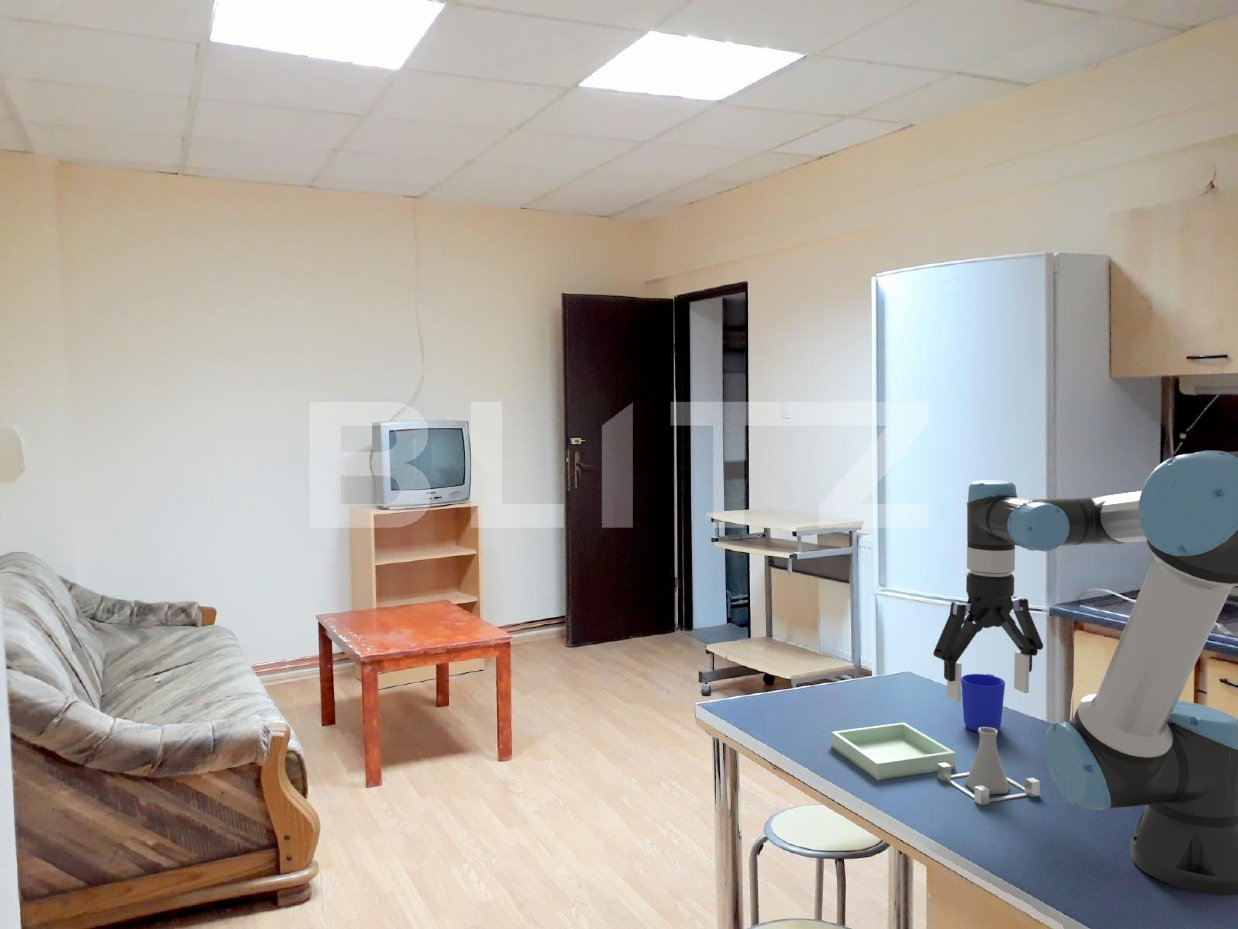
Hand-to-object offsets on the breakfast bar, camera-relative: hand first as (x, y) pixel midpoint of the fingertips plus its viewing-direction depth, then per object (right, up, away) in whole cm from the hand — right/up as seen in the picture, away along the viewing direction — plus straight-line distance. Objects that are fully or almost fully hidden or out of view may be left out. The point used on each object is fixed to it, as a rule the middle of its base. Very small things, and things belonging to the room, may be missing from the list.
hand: (988, 695), depth 156 cm
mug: (+11, -14, +30) cm, 35 cm away
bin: (-12, -15, +14) cm, 24 cm away
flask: (0, -16, +1) cm, 16 cm away
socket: (0, -16, +1) cm, 16 cm away
